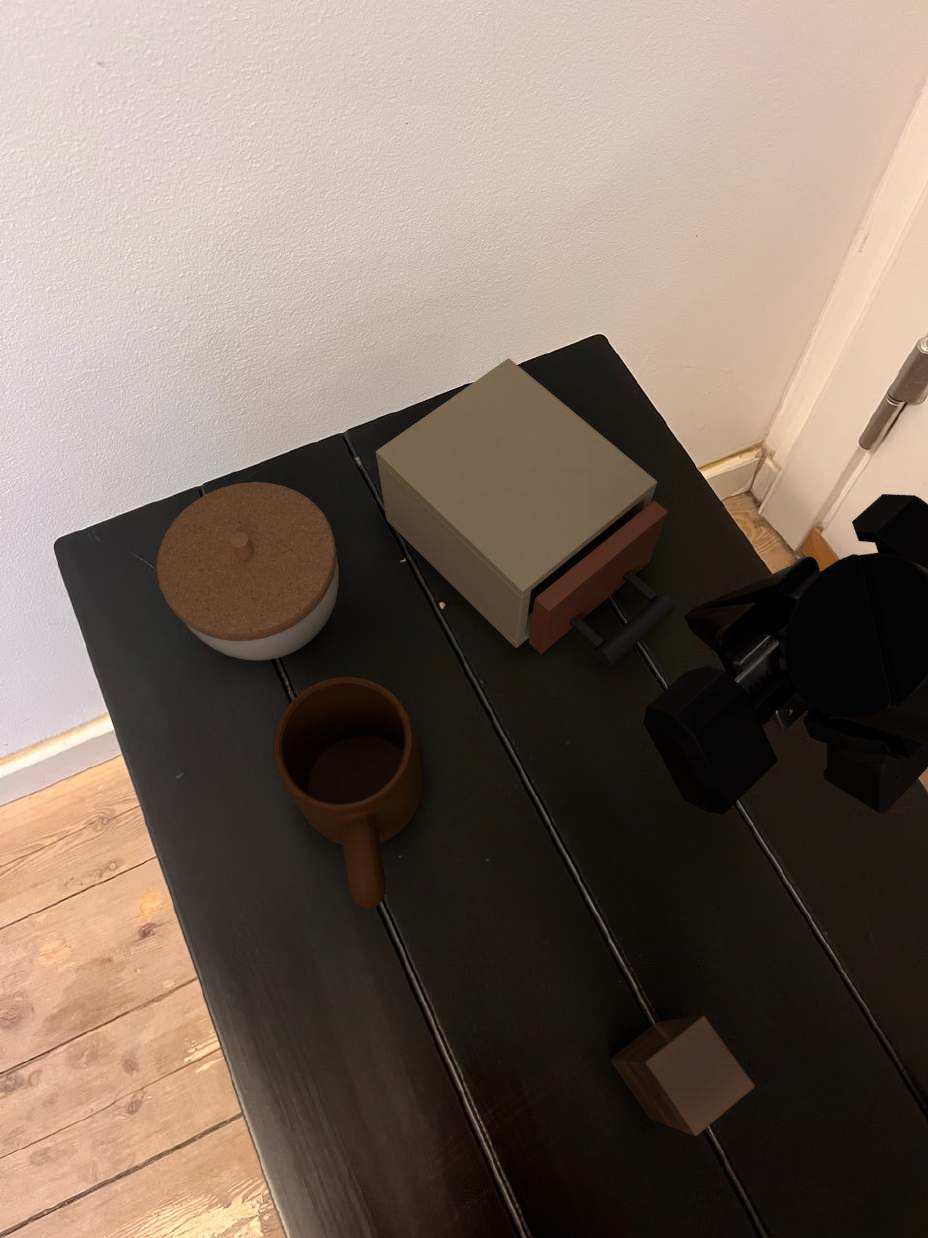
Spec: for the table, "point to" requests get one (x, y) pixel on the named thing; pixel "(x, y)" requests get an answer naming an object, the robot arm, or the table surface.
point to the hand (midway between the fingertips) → (691, 619)
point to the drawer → (601, 587)
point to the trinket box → (251, 570)
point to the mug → (351, 772)
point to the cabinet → (505, 491)
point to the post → (683, 1073)
